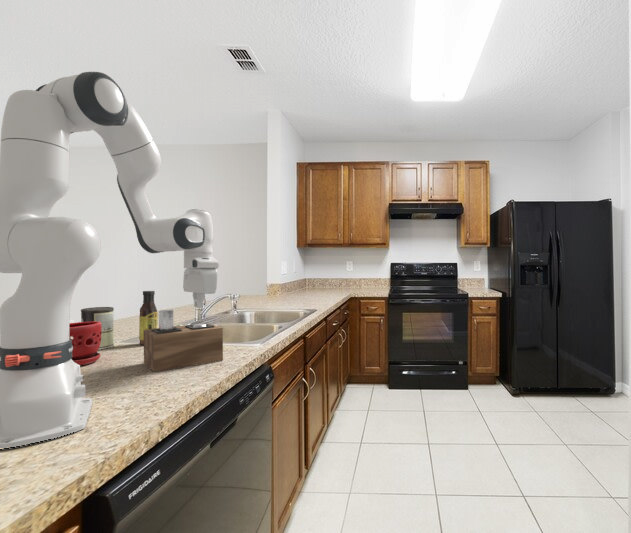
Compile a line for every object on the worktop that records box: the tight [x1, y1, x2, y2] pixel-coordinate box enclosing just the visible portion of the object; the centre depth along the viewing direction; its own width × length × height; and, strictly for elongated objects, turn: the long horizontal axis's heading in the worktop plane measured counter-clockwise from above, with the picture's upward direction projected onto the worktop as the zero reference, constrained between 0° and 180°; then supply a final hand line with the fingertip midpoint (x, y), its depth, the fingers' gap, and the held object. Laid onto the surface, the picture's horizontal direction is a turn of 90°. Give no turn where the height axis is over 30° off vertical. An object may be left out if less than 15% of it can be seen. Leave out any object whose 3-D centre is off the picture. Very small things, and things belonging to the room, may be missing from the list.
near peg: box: [158, 309, 175, 331], centre depth 112 cm, size 4×4×10 cm
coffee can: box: [80, 306, 115, 351], centre depth 136 cm, size 10×10×14 cm
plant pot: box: [69, 321, 102, 366], centre depth 115 cm, size 13×13×12 cm
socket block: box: [143, 322, 224, 373], centre depth 115 cm, size 12×20×10 cm, turn 127°
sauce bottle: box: [138, 290, 159, 346], centre depth 142 cm, size 7×6×20 cm
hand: (198, 307), depth 117 cm, fingers closed
